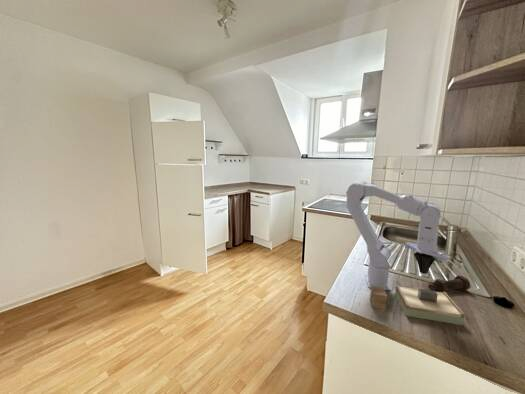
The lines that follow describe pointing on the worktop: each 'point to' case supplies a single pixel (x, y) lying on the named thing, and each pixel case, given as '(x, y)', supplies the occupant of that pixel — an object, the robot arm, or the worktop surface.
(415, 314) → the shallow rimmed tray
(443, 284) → the bolt
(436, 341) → the worktop surface
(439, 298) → the lid
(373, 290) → the block
